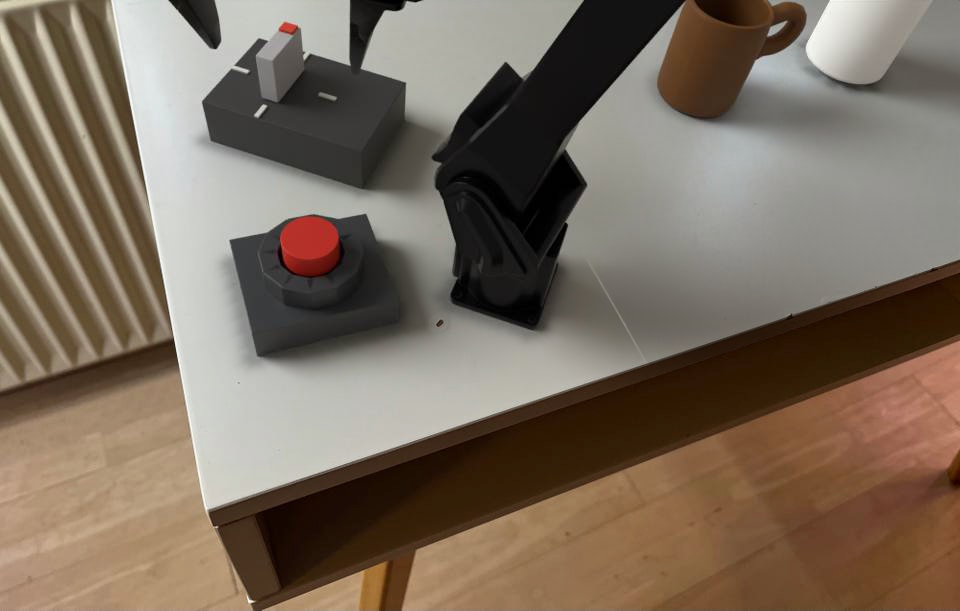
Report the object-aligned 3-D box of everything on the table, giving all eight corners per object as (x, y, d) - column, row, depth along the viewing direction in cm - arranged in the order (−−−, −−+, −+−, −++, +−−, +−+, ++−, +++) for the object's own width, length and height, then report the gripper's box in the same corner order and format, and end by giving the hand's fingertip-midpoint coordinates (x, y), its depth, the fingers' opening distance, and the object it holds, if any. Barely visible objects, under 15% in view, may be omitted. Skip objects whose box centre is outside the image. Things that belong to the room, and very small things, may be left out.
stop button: (332, 229, 50) (330, 211, 48) (346, 270, 48) (345, 252, 46) (277, 240, 48) (274, 222, 47) (289, 282, 47) (287, 264, 45)
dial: (278, 103, 57) (272, 57, 53) (261, 98, 57) (254, 52, 53) (305, 69, 59) (301, 24, 56) (288, 64, 59) (283, 19, 56)
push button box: (366, 238, 55) (366, 195, 51) (398, 323, 51) (400, 283, 47) (234, 264, 52) (224, 221, 48) (257, 357, 48) (247, 317, 44)
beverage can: (886, 96, 73) (964, -17, 64) (806, 79, 73) (871, -37, 64) (875, 49, 78) (945, -63, 69) (799, 33, 78) (859, -81, 69)
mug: (752, 64, 74) (795, -25, 66) (788, 114, 70) (838, 25, 62) (642, 71, 71) (674, -21, 64) (672, 123, 67) (710, 31, 59)
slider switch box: (404, 121, 63) (406, 80, 60) (362, 190, 58) (361, 149, 54) (264, 77, 64) (258, 35, 61) (210, 141, 59) (200, 99, 56)
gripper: (471, -248, 40) (450, 14, 52) (131, -308, 40) (191, -32, 52) (433, -165, 33) (420, 114, 46) (25, -237, 33) (123, 60, 46)
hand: (286, 58), depth 48 cm, fingers open, 9 cm apart
